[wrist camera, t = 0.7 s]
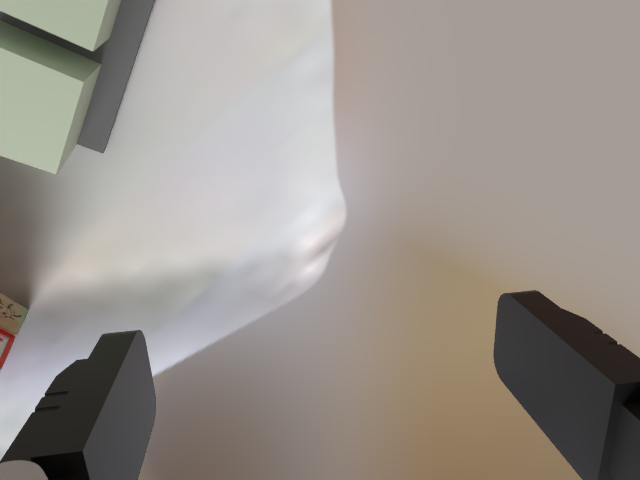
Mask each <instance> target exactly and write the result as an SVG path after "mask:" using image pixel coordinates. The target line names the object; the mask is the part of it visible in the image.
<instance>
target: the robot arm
mask: <svg viewBox="0 0 640 480" xmlns="http://www.w3.org/2000/svg"><path fill="white" fill-rule="evenodd" d="M497 308H498V309H497V318H496V331H495V343H494V363H495V367H496V370H497V373H498V375H499V377H500V379H501V381H502V382H503V383H504V384H505V386H506V387H507V388H508V389H509V390H510V392H511V393H512V394H513V395H514V397H515V398H516V399H517V400H518V401H519V403H520V404H521V405H522V406H523V407H524V409H525V410H526V411H527V412H528V414H529V415H530V416H531V417H532V419H533V420H534V421H535V422H536V423H537V425H538V426H539V427H540V428H541V430H542V431H543V432H544V433H545V434H546V436H547V437H548V438H549V439H550V441H551V442H552V443H553V444H554V445H555V447H556V448H557V449H558V450H559V451H560V453H561V454H562V455H563V456H564V457H565V459H566V460H567V461H568V462H569V464H570V465H571V466H572V467H573V469H574V470H575V471H576V472H577V474H578V475H579V476H580V477H581V478H582V480H640V358H639V357H637V356H636V355H635V354H633V353H632V352H631V351H629V350H628V349H626V348H625V347H623V346H622V345H621V344H620V345H618V344H617V341H615V340H614V339H613V338H611V337H610V336H609V335H607V334H603V332H602V330H600V329H599V328H598V327H596V326H595V325H593V324H592V323H591V322H589V321H588V320H587V319H585V318H583V317H580V316H578V315H576V314H573V313H571V312H569V311H566V310H564V309H561V308H560V307H559V306H557V305H556V304H555V303H553V302H552V301H551V300H549V299H548V298H547V297H545V296H544V295H543V294H541V293H540V292H538V291H535V290H533V291H523V292H515V293H504V294H502V295H501V296H500V298H499V301H498V307H497ZM155 412H156V397H155V389H154V384H153V379H152V373H151V368H150V363H149V357H148V352H147V347H146V342H145V337H144V335H143V333H142V331H141V330H135V331H126V332H116V333H106V334H103V335H102V336H101V337H100V339H99V341H98V342H97V344H96V346H95V348H94V349H93V351H92V353H91V354H90V356H89V358H88V359H82V360H76V361H75V362H74V363H72V364H71V365H70V366H69V367H67V368H66V369H65V370H64V371H62V372H61V373H60V374H58V375H57V376H56V377H55V379H54V380H53V382H52V384H51V385H50V387H49V388H48V390H47V391H46V393H45V397H42V399H41V400H40V402H39V403H38V405H37V406H36V408H35V412H33V413H32V414H31V415H30V417H29V418H28V420H27V421H26V423H25V425H24V426H23V428H22V429H21V431H20V432H19V434H18V435H17V437H16V438H15V440H14V441H13V443H12V444H11V446H10V447H9V449H8V450H7V452H6V453H5V455H4V456H3V458H2V459H1V461H0V480H138V477H139V473H140V470H141V466H142V463H143V460H144V456H145V453H146V449H147V446H148V442H149V439H150V435H151V432H152V428H153V425H154V420H155V414H156V413H155Z"/></svg>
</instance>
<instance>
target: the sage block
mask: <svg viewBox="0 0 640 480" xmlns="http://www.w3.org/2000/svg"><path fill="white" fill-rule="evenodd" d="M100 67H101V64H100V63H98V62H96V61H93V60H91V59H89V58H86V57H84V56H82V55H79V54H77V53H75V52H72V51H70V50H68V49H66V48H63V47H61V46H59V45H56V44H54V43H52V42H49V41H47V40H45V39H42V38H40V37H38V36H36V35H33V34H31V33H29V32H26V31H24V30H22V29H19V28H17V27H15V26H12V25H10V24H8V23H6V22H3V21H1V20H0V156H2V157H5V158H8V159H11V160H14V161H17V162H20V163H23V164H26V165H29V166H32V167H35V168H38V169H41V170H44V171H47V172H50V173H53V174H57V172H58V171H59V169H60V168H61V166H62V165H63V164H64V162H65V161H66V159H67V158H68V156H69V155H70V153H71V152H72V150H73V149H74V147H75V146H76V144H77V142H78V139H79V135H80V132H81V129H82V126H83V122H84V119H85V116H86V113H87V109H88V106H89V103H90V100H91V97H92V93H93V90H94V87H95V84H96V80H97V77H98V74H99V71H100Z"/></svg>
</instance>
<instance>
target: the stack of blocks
mask: <svg viewBox="0 0 640 480" xmlns="http://www.w3.org/2000/svg"><path fill="white" fill-rule="evenodd" d="M27 313H28V309H27V308H25V307H23V306H22V305H20V304H18V303H17V302H15V301H13V300H11V299H10V298H8V297H6V296H5V295H3V294H1V293H0V370H1V369H2V367H3V364H4V362H5V360H6V358H7V356H8V353H9V351H10V349H11V346H12V344H13V342H14V339H15V337H16V336H17V334H18V332H19V330H20V328H21V326H22V324H23V322H24V320H25V317H26V315H27Z"/></svg>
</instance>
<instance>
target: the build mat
mask: <svg viewBox="0 0 640 480" xmlns="http://www.w3.org/2000/svg"><path fill="white" fill-rule="evenodd" d="M154 1H155V0H121V3H120V6H119V9H118V12H117V16H116V19H115V22H114V25H113V29H112V32H111V35H110V38H109V39H108V40H107V41H105V42H104V43H103V44H102V45H100V46H99V47H98V48H97V49H96V50H94V51H90V50H88V49H86V48H83V47H81V46H79V45H77V44H74V43H72V42H70V41H68V40H65V39H63V38H61V37H58V36H56V35H54V34H52V33H49V32H47V31H45V30H43V29H40V28H38V27H36V26H33V25H31V24H29V23H27V22H24V21H22V20H20V19H18V18H15V17H13V16H11V15H8V14H6V13H4V12H2V11H0V20H1V21H3V22H6V23H8V24H10V25H12V26H15V27H17V28H19V29H22V30H24V31H26V32H29V33H31V34H33V35H36V36H38V37H40V38H42V39H45V40H47V41H49V42H52V43H54V44H56V45H59V46H61V47H63V48H66V49H68V50H70V51H72V52H75V53H77V54H79V55H82V56H84V57H86V58H89V59H91V60H93V61H96V62H98V63H100V64H101V67H100V71H99V74H98V77H97V80H96V84H95V87H94V90H93V93H92V97H91V100H90V103H89V106H88V109H87V113H86V116H85V119H84V122H83V126H82V129H81V132H80V135H79V139H78V142H77V144H79V145H82V146H84V147H87V148H90V149H93V150H95V151H98V152H101V153H104V151H105V148H106V145H107V142H108V139H109V136H110V133H111V130H112V127H113V124H114V121H115V118H116V115H117V112H118V109H119V106H120V103H121V100H122V97H123V94H124V91H125V88H126V85H127V82H128V79H129V76H130V73H131V70H132V67H133V64H134V61H135V58H136V55H137V52H138V49H139V46H140V43H141V40H142V37H143V34H144V31H145V28H146V25H147V22H148V19H149V16H150V13H151V10H152V7H153V4H154Z"/></svg>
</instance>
